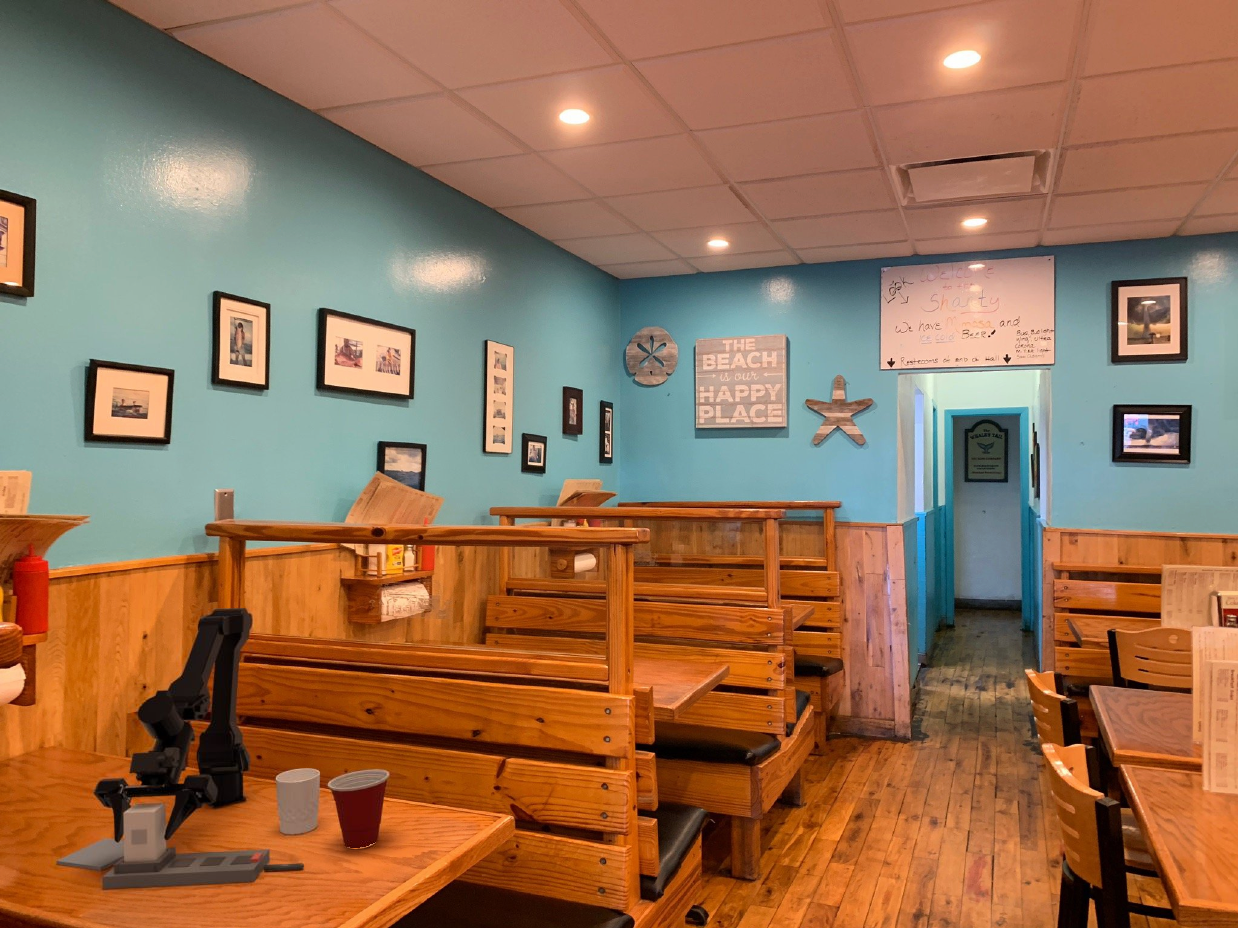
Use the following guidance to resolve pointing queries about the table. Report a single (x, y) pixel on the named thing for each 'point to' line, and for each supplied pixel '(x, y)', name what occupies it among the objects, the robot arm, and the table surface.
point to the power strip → (193, 869)
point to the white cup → (298, 800)
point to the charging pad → (95, 855)
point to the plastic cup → (359, 805)
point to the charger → (144, 832)
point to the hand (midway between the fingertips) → (141, 840)
